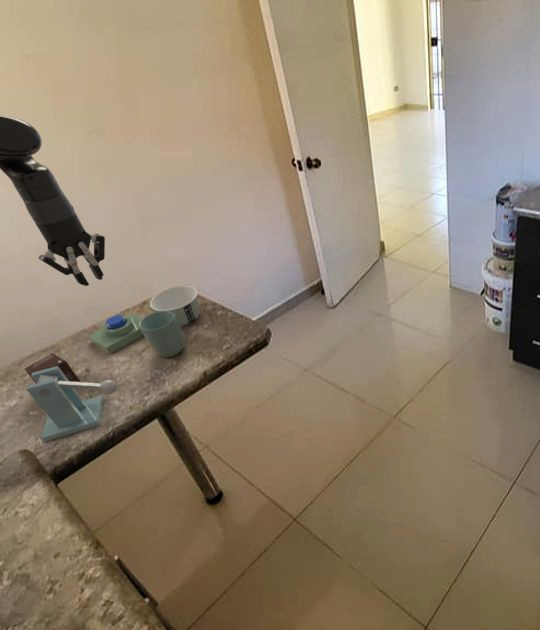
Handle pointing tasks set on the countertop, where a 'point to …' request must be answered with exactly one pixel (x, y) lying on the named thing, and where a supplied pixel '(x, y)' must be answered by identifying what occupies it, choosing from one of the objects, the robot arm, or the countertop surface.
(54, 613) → the countertop surface
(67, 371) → the box
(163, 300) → the food container
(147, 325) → the cup
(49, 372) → the lever bracket
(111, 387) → the flush lever
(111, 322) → the flush button
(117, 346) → the button block
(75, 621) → the countertop surface
